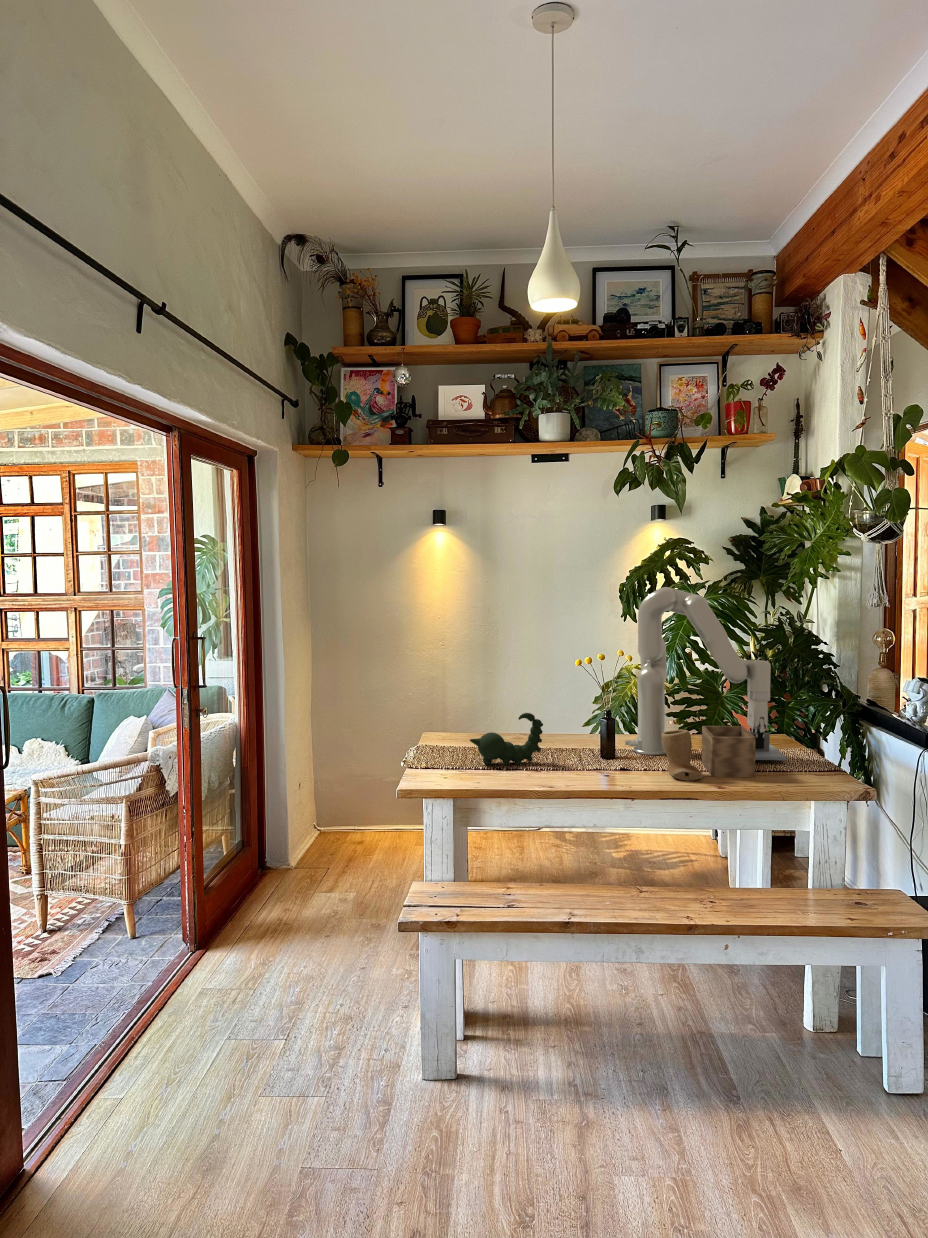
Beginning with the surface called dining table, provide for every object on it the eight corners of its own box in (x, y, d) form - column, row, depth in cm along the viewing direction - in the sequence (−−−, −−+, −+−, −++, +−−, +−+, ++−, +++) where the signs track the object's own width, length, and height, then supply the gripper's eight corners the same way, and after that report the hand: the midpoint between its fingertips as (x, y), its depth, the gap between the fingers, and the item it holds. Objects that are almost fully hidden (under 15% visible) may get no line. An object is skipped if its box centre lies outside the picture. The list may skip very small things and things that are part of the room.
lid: (743, 759, 291) (743, 738, 290) (731, 747, 309) (731, 727, 309) (786, 760, 290) (787, 739, 289) (771, 748, 308) (772, 728, 307)
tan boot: (658, 769, 285) (659, 725, 284) (695, 770, 284) (695, 726, 283) (665, 782, 270) (665, 735, 269) (703, 782, 269) (704, 736, 268)
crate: (711, 776, 276) (712, 737, 275) (701, 763, 293) (702, 726, 292) (754, 777, 275) (755, 737, 274) (742, 763, 292) (742, 726, 291)
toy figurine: (536, 763, 302) (466, 760, 299) (540, 711, 300) (470, 707, 298) (541, 770, 292) (469, 767, 290) (546, 716, 291) (473, 712, 288)
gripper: (742, 691, 306) (741, 742, 308) (753, 699, 290) (752, 752, 291) (763, 691, 306) (762, 742, 307) (776, 700, 289) (775, 753, 291)
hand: (757, 746), depth 299 cm, fingers open, 3 cm apart
